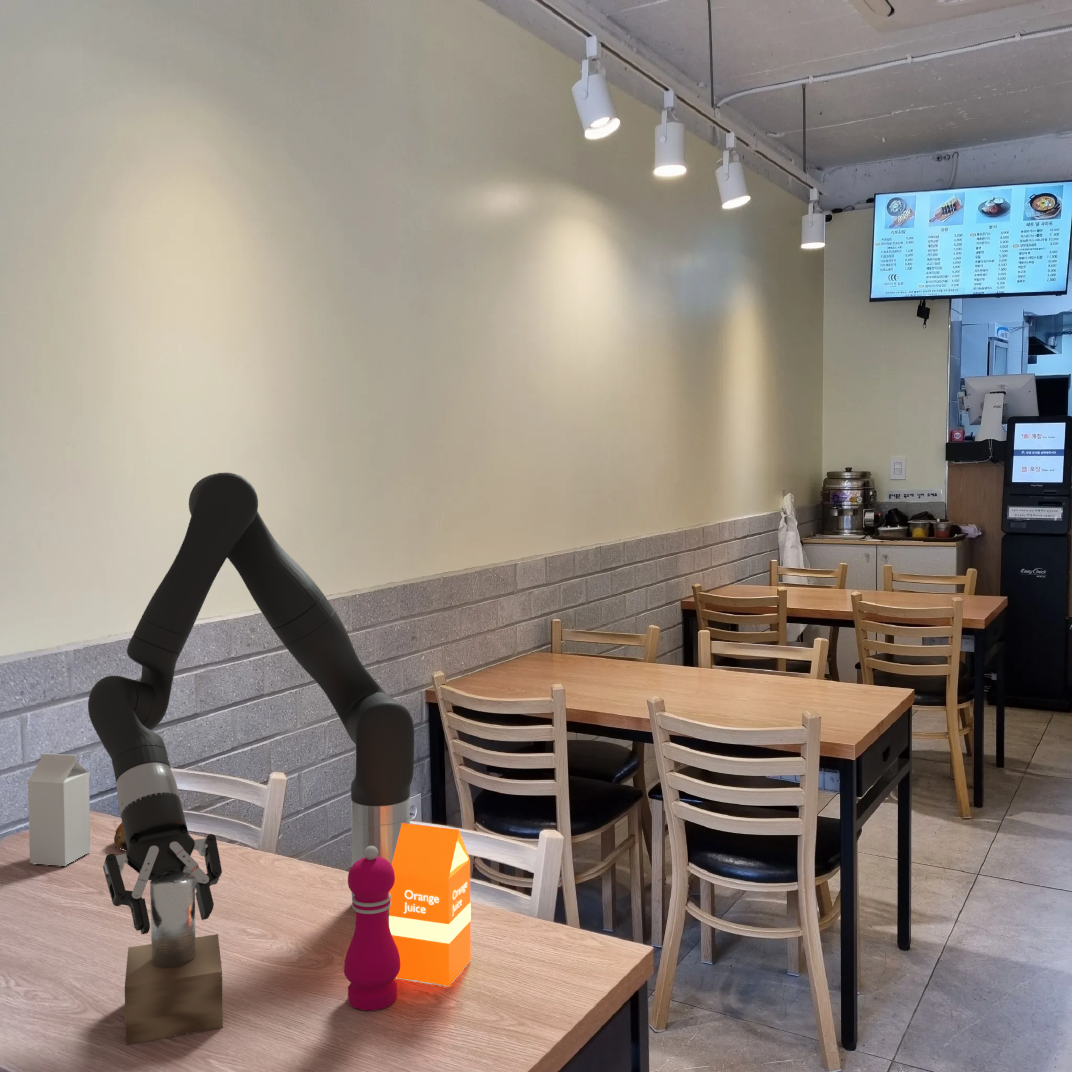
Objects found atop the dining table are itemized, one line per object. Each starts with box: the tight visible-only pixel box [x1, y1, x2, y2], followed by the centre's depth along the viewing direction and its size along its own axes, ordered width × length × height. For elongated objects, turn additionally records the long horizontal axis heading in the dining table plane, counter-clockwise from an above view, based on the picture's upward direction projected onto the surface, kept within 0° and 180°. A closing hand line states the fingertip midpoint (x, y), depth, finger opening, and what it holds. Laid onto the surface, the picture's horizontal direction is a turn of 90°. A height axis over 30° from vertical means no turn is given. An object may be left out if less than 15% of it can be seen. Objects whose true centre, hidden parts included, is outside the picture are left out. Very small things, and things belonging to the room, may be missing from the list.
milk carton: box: [27, 753, 91, 867], centre depth 178 cm, size 7×7×19 cm
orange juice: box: [388, 823, 472, 986], centre depth 136 cm, size 8×9×20 cm
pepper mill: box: [343, 846, 401, 1012], centre depth 128 cm, size 7×7×20 cm
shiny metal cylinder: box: [149, 872, 197, 968], centre depth 124 cm, size 5×5×10 cm
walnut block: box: [124, 933, 224, 1045], centre depth 125 cm, size 11×11×7 cm
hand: (176, 923), depth 123 cm, fingers open, 6 cm apart
